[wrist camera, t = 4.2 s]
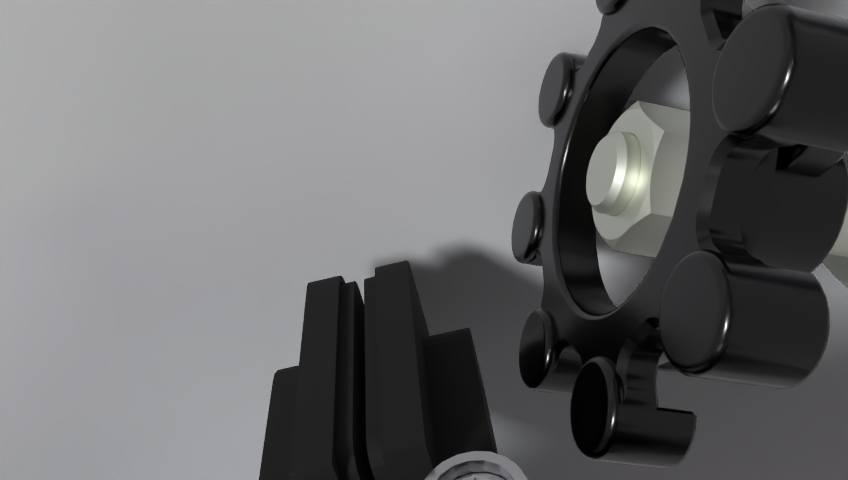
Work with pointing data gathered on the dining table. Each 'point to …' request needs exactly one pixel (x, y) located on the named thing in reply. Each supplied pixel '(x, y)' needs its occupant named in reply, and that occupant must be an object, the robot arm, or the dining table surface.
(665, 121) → the valve
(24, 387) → the dining table surface
